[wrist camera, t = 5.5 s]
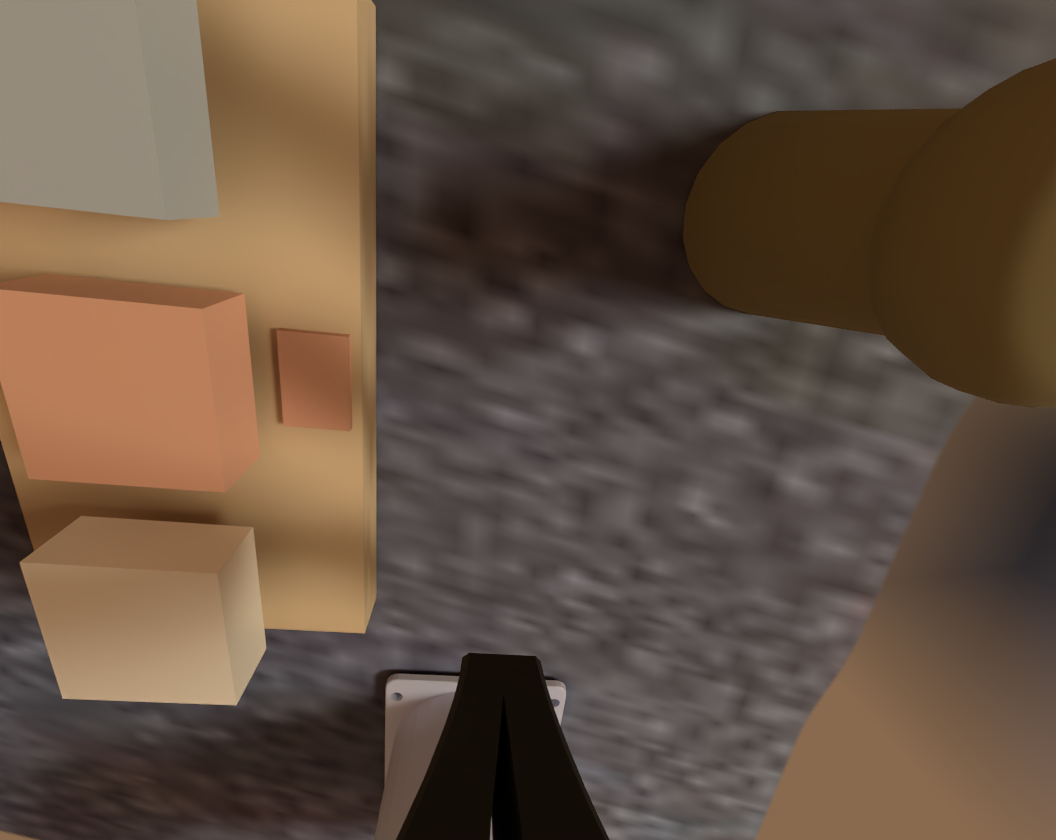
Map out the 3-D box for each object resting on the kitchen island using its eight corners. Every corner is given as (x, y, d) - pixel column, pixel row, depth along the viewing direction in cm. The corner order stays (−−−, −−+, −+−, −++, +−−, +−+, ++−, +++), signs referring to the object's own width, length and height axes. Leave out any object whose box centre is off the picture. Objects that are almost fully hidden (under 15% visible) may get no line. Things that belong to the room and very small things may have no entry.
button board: (376, 596, 22) (355, 661, 19) (93, 580, 21) (24, 646, 18) (375, 6, 14) (340, -46, 11) (-71, -58, 13) (-242, -135, 10)
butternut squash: (909, 216, 17) (1524, 244, 7) (756, 350, 18) (1070, 538, 8) (802, 59, 15) (1422, -231, 5) (643, 222, 17) (865, 258, 6)
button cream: (266, 648, 18) (236, 705, 16) (113, 641, 18) (62, 698, 16) (252, 527, 16) (217, 573, 14) (81, 515, 16) (19, 562, 14)
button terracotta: (260, 456, 16) (225, 492, 14) (89, 443, 16) (28, 479, 14) (244, 293, 14) (202, 309, 12) (49, 273, 14) (-27, 286, 12)
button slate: (219, 216, 13) (166, 220, 11) (-2, 191, 12) (-99, 191, 10) (192, -41, 11) (121, -95, 9) (-70, -79, 10) (-207, -146, 8)
